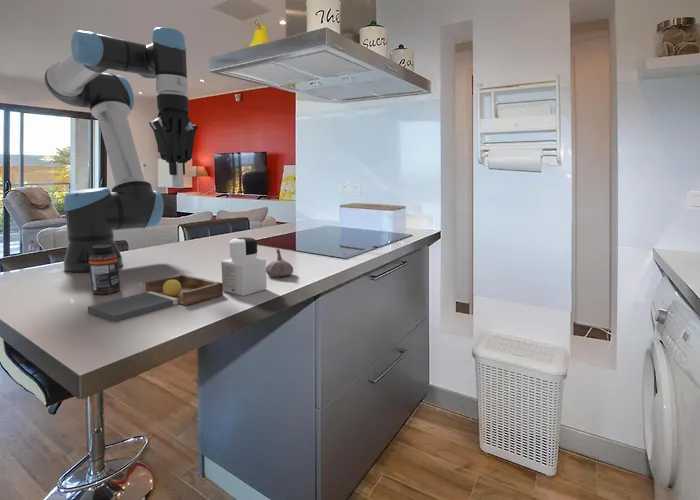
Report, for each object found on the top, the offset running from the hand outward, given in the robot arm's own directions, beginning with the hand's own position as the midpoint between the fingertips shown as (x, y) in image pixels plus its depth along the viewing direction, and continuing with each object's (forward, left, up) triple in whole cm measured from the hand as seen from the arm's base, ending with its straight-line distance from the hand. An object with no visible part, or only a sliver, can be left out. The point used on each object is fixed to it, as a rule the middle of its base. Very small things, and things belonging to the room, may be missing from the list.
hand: (178, 187), depth 113 cm
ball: (+15, -14, -22) cm, 30 cm away
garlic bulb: (+21, +16, -25) cm, 36 cm away
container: (+24, 0, -25) cm, 34 cm away
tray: (+16, -11, -24) cm, 31 cm away
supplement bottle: (-2, -20, -25) cm, 32 cm away
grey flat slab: (+15, -23, -24) cm, 37 cm away
